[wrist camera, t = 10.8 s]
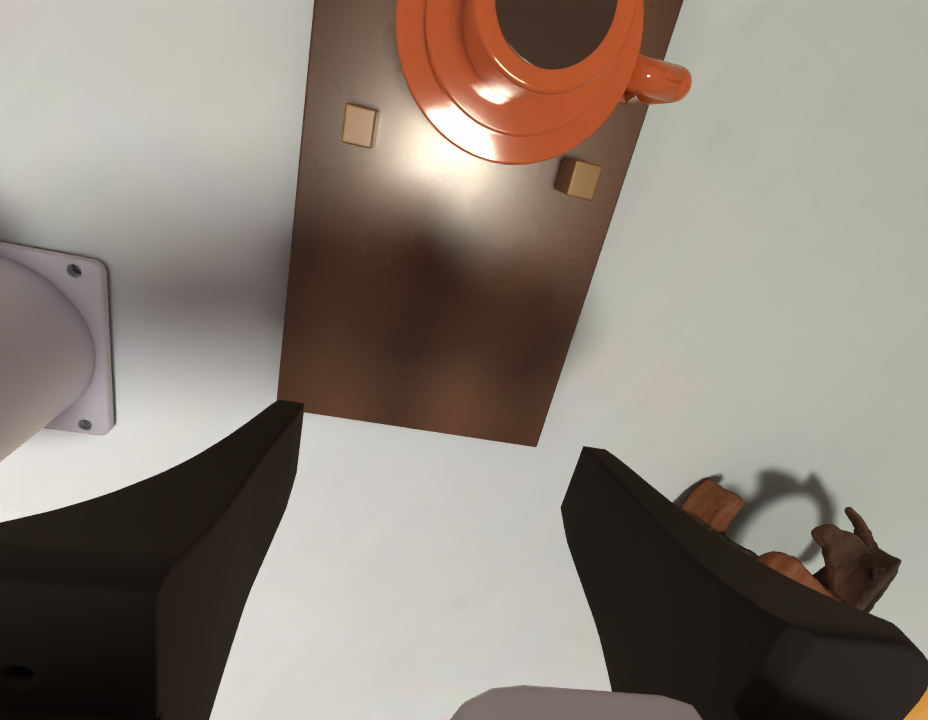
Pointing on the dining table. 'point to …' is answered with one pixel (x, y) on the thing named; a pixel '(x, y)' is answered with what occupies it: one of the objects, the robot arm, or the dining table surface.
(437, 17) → the jug
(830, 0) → the dining table surface
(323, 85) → the stand
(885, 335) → the dining table surface
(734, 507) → the brown arched frame
